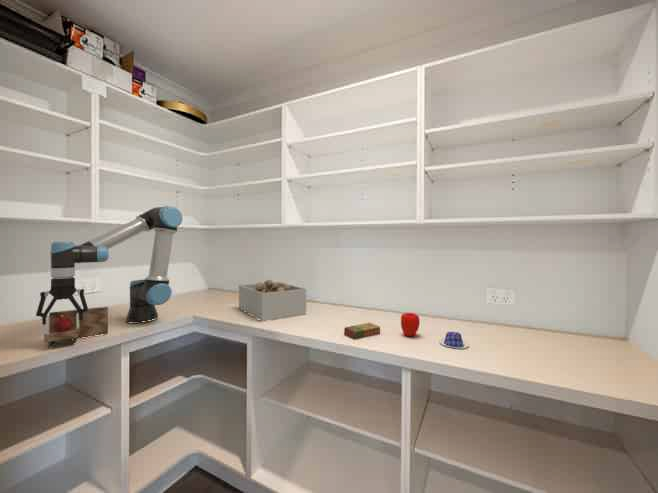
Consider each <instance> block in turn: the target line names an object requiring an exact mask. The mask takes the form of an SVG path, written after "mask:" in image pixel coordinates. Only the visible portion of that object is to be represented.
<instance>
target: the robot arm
mask: <svg viewBox="0 0 658 493" xmlns="http://www.w3.org/2000/svg"><path fill="white" fill-rule="evenodd" d="M183 218H184V217H183V214H182V212H181V211H180V210H179V208H177V207H175V206H171V205H170V206H169V205H164V206H160V207H159V206H156V207H153V208H151V209H148V210H147V211H145V212H143V213H140V214H139V215H137V216H136V217H135V219H133V220H131V221H128V222H127V223H124V224H122V225H120V226H118V227H115V228H114V229H111V230H109V231H107V232H105V233H103V234H101V235H99V236H97V237H94V238H92V239H90V240H88V241H86V242H83V243H81V244H79V245H76V243H75V242H74V241H53V242H52V243H51V244H50V277H51V279H50V290H47V291H41V292H40V294H39V295H40V300H39V304H38V306H37V311H36V313H35V316H36V317H41V318H42V319H41V321H42V323H41V325H42V326H44V325H45V334H49V331H50V316H49V313H50V312H51V310H52V308H53V306H55V303H56V302H57V300H58V301H60V300H69V301H70V302H71V304H72V305H73V307H74V308H75V310H77V311H78V312H79V313H77V314H76V329H79V320H82V319H83V312H85V311H87V310H88V309H89V308H88V304H87V300H86V297H85V288H81V289H79V288H78V289H77V288H76V278H75V276H76V273H75V272H76V264H80V263H81V264H84V263H86V264H88V263H90V264H91V263H92V264H93V263H105V262H107V261H108V259H109V256H110V252H109V249H111V248H113V247H116V246H117V245H120V244H121V243H123V242H125V241H126V240H127V241H128V240H129V239H131V238H133V237H135V236H137V235H139V234H141V233H143V232H150V231H151V230H153V231H154V232H155V234H154V241H153V246H152V250H151V251H152V252H151V259H150V265H149V271H148V272H149V273H148V276H147V277H145V278H144V279H136V280H135V279H134V280H131V281H130V284H129V309H128V312H127V314H126V317H125V318H126V319H125V322H126V323H127V322H142V321H148V320H152V319H155V318H157V317H158V318H159V314H158V311H157V308H156V306H161V305H163V304H166V303H167V302H168V301H169V299H170V298H171V296H172V293H173V292H172V288H171V286H170V279H169V278H168V272H169V271H168V270H169V266H170V265H169V263H170V257H171V251H172V245H173V239H174V235H175V234H176V233H177V232H178V227H179V226H180V225H182V224H183V221H184V220H183ZM76 292H77V294H78V295H79V299H80V301H81V305H82V307H81V306H80V304H79V303H78V301H77V300H76V299H75V297H74V295H75V293H76ZM49 295H50V296H52V299H51V301H50V303H49V304H48V305H47V306H46V309H45V311H44V312H43V309H44V306H45V302H46V299H47V297H48V296H49Z"/></svg>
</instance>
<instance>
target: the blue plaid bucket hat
mask: <svg viewBox="0 0 658 493" xmlns="http://www.w3.org/2000/svg"><path fill="white" fill-rule="evenodd" d="M439 344H440V345H442V346H445V347H447V348H452V349H467V348H469V346H470V345H469V344H468V343H467V342H465V341H463V337H462V334H461V333H460V332H457V331H448V332H446V333H445V336H444V338H443V339H440V340H439Z"/></svg>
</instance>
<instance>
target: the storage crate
mask: <svg viewBox="0 0 658 493" xmlns="http://www.w3.org/2000/svg"><path fill="white" fill-rule="evenodd" d="M275 282H276V283H277V284H278V286H279V287H282V288H283V287H284V285H286V284H287V285H290V287H291V290H288V291H278V292H277V289H276V292H269V293H265V290H266V289H265V288H266V286H265V284H264V286H265V288H264V290H262V292H263V293H262V292H259V291H257V290H256V289H255V285H256V284H257V283H250V284H249V283H247V284H239V285H238V309H239V308H240V309H242V310H243V311H245V312H247V313H249V314H251V315H253V316H254V317H256V318H258V319H260V320H261V321H265V322H268V321H267V320H271V321H275V320H274V319H277V320H282V319H281V318H283V319H288V318H287V317H289V318H293V317H294V316H295V317H299V316H300V315H301V316H305V315H307V288H305V287H300V286H296V285H292V284H288V283H285V282H280V281H275ZM271 290H272V288H271ZM240 309H239V310H240ZM243 311H242V312H243ZM245 312H244V313H245ZM247 313H246V314H247ZM249 314H248V315H249ZM254 317H253V318H254ZM256 318H255V319H256ZM258 319H257V320H258ZM261 321H260V322H261Z"/></svg>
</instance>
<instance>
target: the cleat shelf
mask: <svg viewBox="0 0 658 493" xmlns="http://www.w3.org/2000/svg"><path fill="white" fill-rule="evenodd" d="M79 332H80V329H74V330H68V331H64V332H51V333H49V332H48V333H44V334H43V343H47V349H51V348H50V347H53V346H54V345H53V344H55V343H56V342H55V341H58V340H65V339H72V338H73V340H72V345H73V344H74V343H76V341H77V342H78V340H79V339H78V335H79ZM77 339H78V340H77ZM76 344H77V343H76ZM74 345H75V344H74Z"/></svg>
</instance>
